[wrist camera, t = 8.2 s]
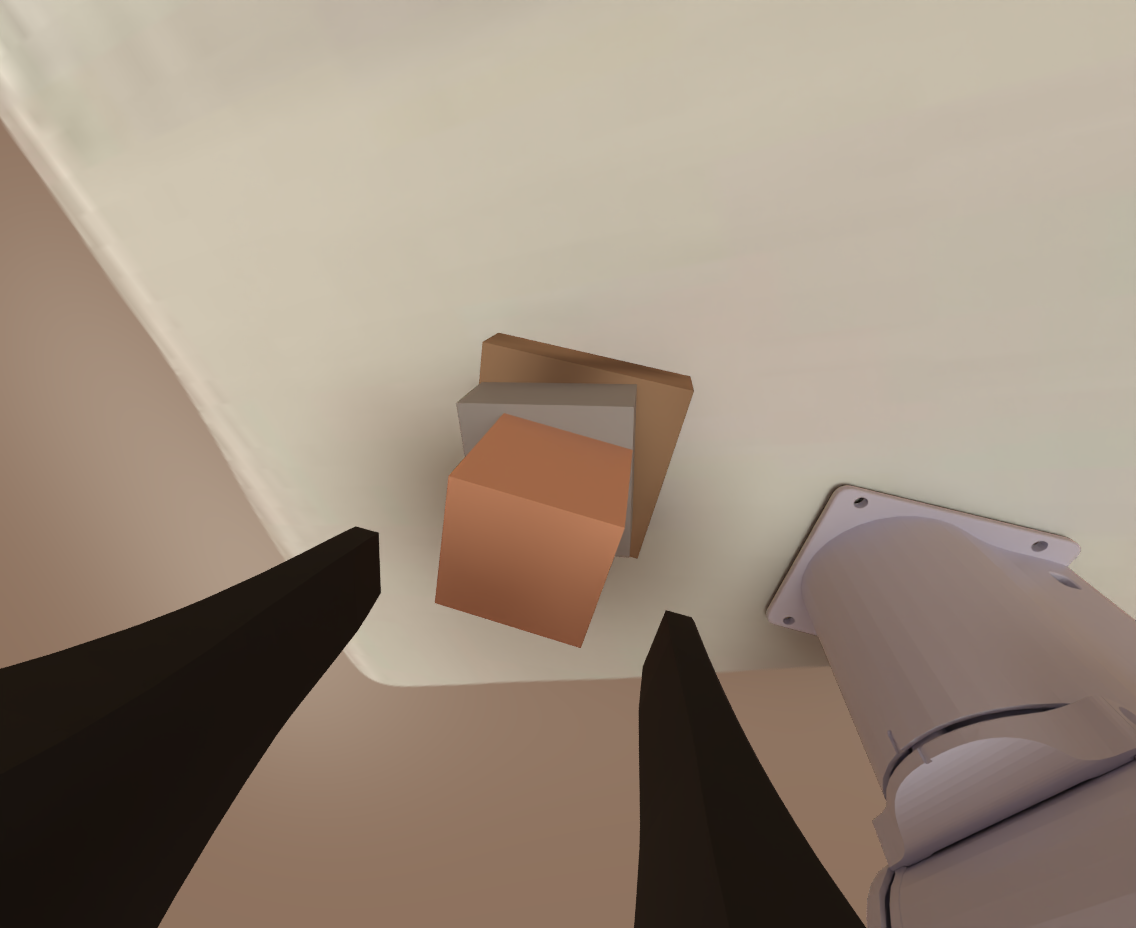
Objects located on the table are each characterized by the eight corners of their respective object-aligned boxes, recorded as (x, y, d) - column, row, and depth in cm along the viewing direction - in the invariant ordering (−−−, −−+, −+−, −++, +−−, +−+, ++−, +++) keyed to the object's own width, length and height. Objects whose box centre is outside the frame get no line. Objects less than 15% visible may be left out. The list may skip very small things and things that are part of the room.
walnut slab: (689, 372, 18) (693, 391, 16) (639, 526, 22) (637, 558, 19) (503, 329, 18) (482, 342, 16) (486, 486, 22) (467, 513, 20)
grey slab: (636, 383, 16) (634, 406, 14) (632, 520, 19) (629, 557, 16) (481, 381, 17) (456, 402, 15) (499, 511, 20) (479, 545, 17)
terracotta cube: (632, 449, 14) (624, 527, 10) (598, 551, 17) (580, 647, 13) (504, 413, 15) (448, 475, 11) (486, 518, 17) (435, 602, 13)
